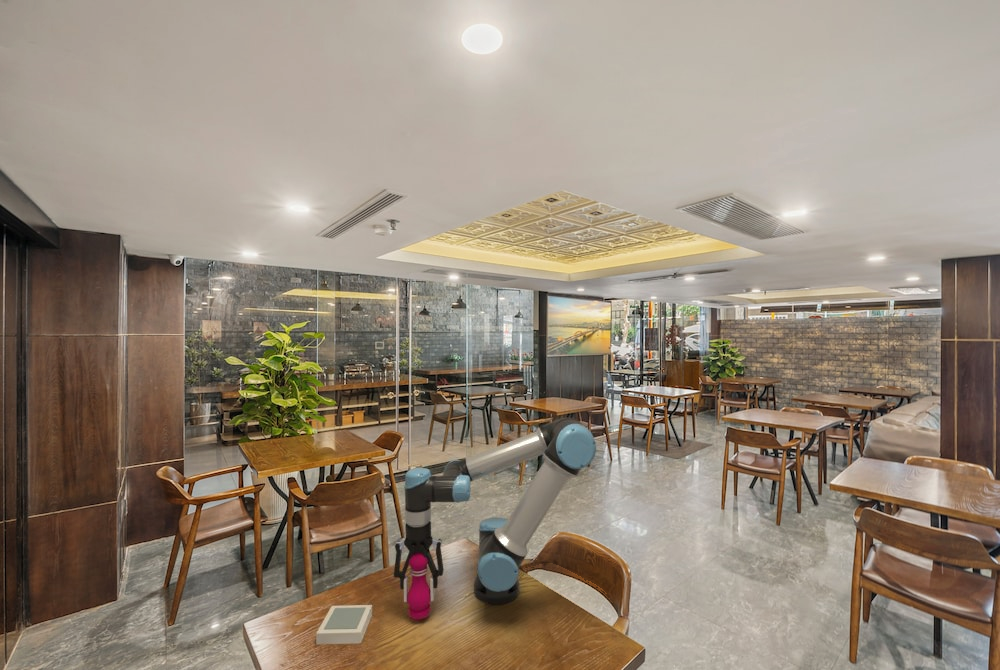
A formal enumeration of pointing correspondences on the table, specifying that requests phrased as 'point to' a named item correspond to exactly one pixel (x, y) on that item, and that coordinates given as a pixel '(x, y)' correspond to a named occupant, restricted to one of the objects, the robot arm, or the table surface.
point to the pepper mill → (419, 588)
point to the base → (344, 625)
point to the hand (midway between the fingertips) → (419, 598)
